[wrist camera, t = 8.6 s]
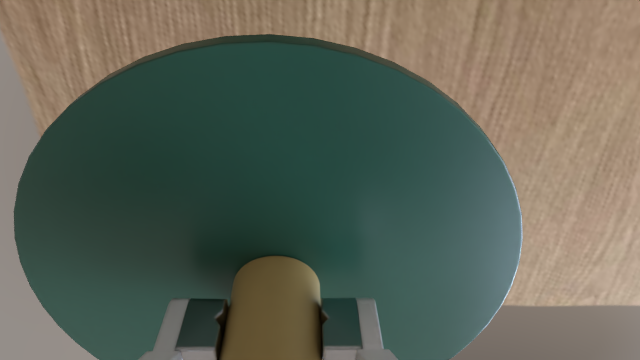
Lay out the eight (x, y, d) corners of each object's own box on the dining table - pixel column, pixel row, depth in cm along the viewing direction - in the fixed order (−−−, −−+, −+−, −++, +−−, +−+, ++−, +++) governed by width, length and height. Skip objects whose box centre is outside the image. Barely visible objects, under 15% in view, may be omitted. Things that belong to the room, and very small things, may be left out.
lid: (266, -139, 8) (231, -172, 4) (585, 257, 14) (692, 394, 10) (-50, 256, 13) (-196, 406, 9) (284, 418, 19) (279, 548, 16)
